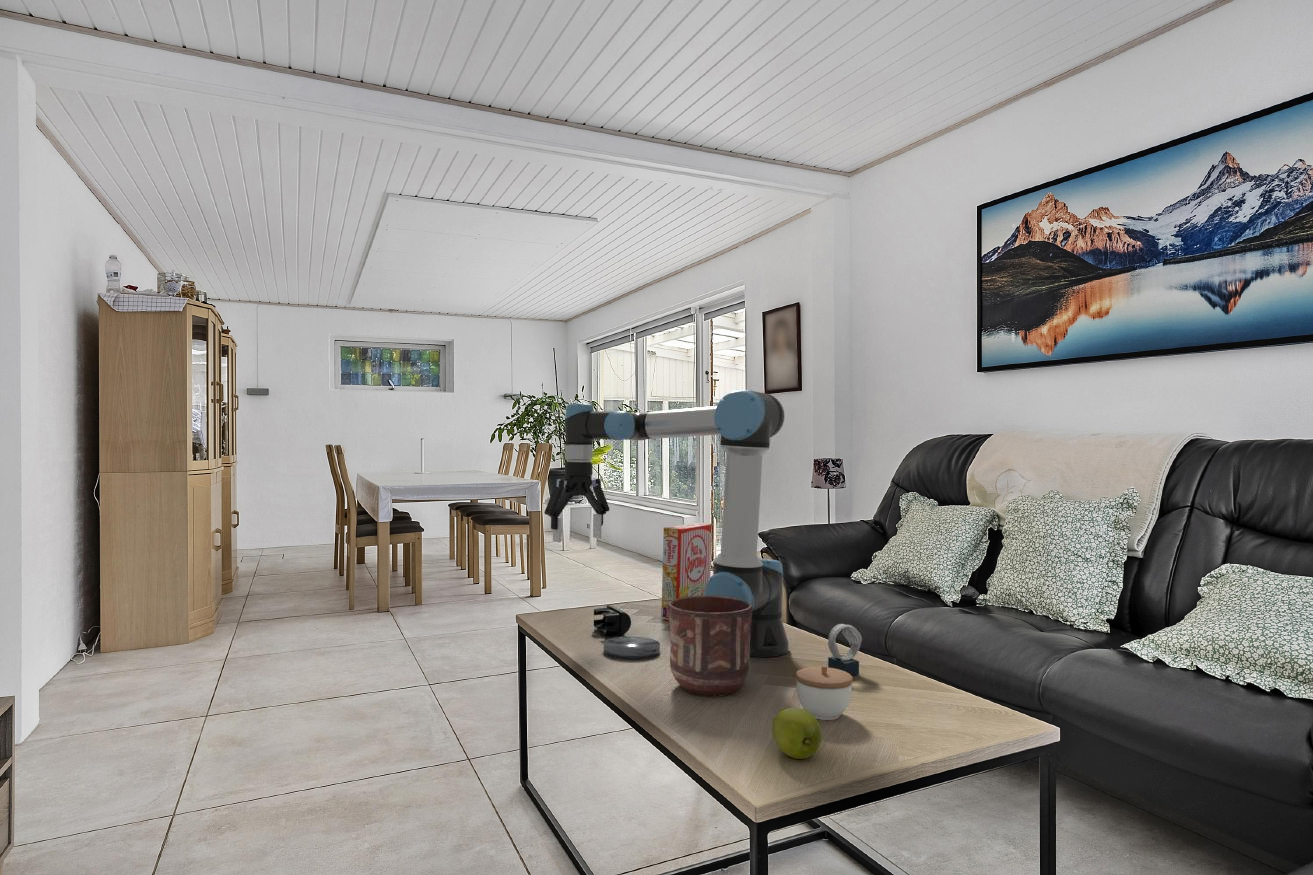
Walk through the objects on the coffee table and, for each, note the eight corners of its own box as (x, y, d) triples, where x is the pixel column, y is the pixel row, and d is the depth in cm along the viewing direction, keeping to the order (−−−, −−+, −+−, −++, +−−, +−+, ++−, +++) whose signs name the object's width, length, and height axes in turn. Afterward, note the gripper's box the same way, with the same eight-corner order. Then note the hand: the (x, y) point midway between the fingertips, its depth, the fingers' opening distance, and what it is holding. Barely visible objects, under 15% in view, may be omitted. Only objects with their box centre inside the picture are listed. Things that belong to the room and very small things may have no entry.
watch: (865, 673, 177) (866, 625, 177) (838, 678, 173) (839, 629, 173) (848, 667, 182) (849, 620, 182) (821, 671, 178) (822, 623, 178)
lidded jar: (841, 728, 143) (842, 677, 143) (786, 716, 148) (787, 668, 148) (859, 711, 152) (860, 664, 152) (807, 701, 158) (808, 655, 158)
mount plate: (669, 649, 195) (669, 641, 195) (642, 662, 182) (642, 654, 182) (622, 641, 202) (622, 633, 202) (592, 654, 189) (592, 645, 189)
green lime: (793, 771, 124) (794, 721, 124) (762, 750, 132) (762, 703, 132) (832, 763, 127) (833, 714, 127) (799, 743, 136) (800, 697, 136)
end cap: (631, 636, 207) (631, 611, 207) (606, 639, 204) (607, 613, 204) (616, 627, 216) (616, 603, 216) (592, 630, 213) (593, 605, 213)
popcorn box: (678, 622, 224) (680, 528, 224) (660, 619, 227) (661, 527, 227) (710, 609, 241) (711, 522, 241) (692, 607, 244) (694, 521, 244)
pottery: (706, 669, 178) (706, 591, 178) (767, 688, 165) (768, 603, 165) (650, 687, 166) (651, 603, 165) (712, 708, 153) (713, 617, 153)
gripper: (605, 460, 220) (604, 534, 220) (532, 461, 203) (530, 541, 203) (622, 461, 214) (621, 537, 214) (548, 461, 197) (547, 545, 197)
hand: (577, 539), depth 209 cm, fingers open, 13 cm apart
